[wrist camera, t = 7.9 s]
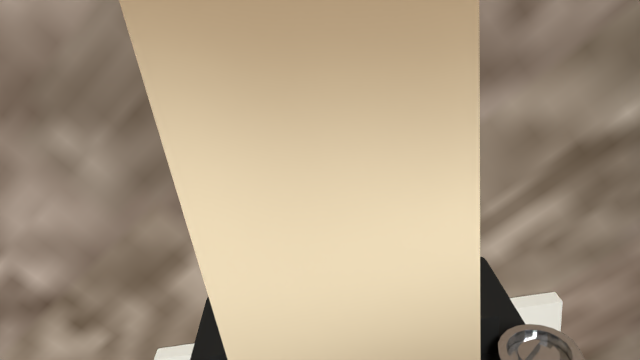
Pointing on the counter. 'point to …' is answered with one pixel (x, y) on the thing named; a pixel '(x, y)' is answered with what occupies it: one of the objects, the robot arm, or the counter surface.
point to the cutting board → (530, 308)
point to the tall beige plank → (324, 169)
